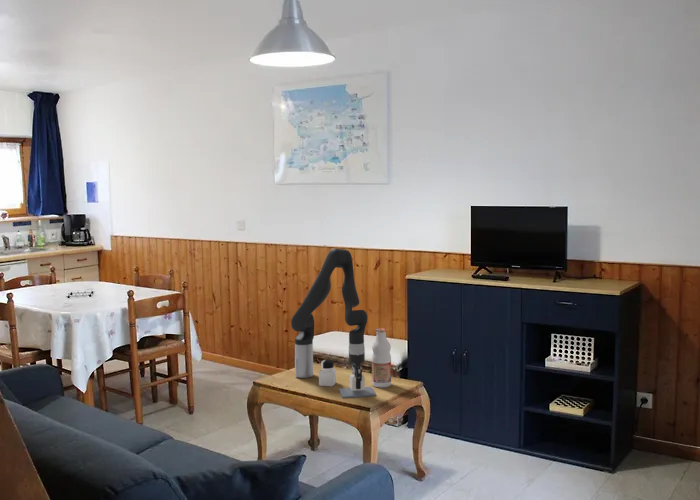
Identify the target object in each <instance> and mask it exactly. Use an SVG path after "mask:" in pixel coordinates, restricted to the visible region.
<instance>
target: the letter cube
mask: <svg viewBox="0 0 700 500" xmlns="http://www.w3.org/2000/svg"><path fill="white" fill-rule="evenodd" d="M359 378H360V377H358V379H359ZM365 378H366V377H365V376H364V374H363V373H362V381H361V389H356V381H355V380H356V378H355V376H354V375H353V374H350V375H349V388H351V390H352V391H357V390H365V387H366V380H365Z"/></svg>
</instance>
